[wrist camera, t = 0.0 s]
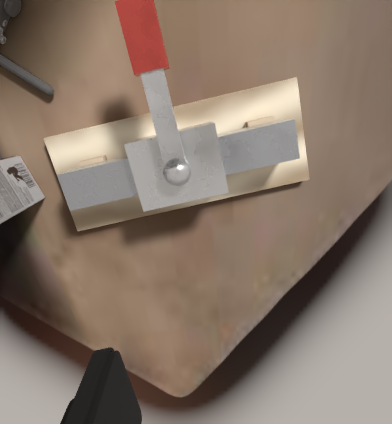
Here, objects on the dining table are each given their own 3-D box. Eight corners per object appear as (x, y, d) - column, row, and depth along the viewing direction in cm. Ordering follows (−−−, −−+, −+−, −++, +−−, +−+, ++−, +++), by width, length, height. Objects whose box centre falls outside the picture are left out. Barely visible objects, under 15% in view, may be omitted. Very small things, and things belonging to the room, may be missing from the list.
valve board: (48, 137, 38) (37, 139, 36) (292, 78, 37) (301, 75, 34) (81, 227, 42) (73, 235, 39) (305, 177, 40) (313, 181, 38)
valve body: (71, 154, 38) (45, 163, 31) (278, 105, 36) (297, 103, 30) (89, 209, 40) (69, 228, 33) (286, 164, 38) (306, 175, 32)
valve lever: (119, 8, 27) (114, 1, 25) (153, -1, 27) (151, -9, 25) (166, 185, 31) (164, 189, 30) (195, 179, 31) (195, 182, 30)
